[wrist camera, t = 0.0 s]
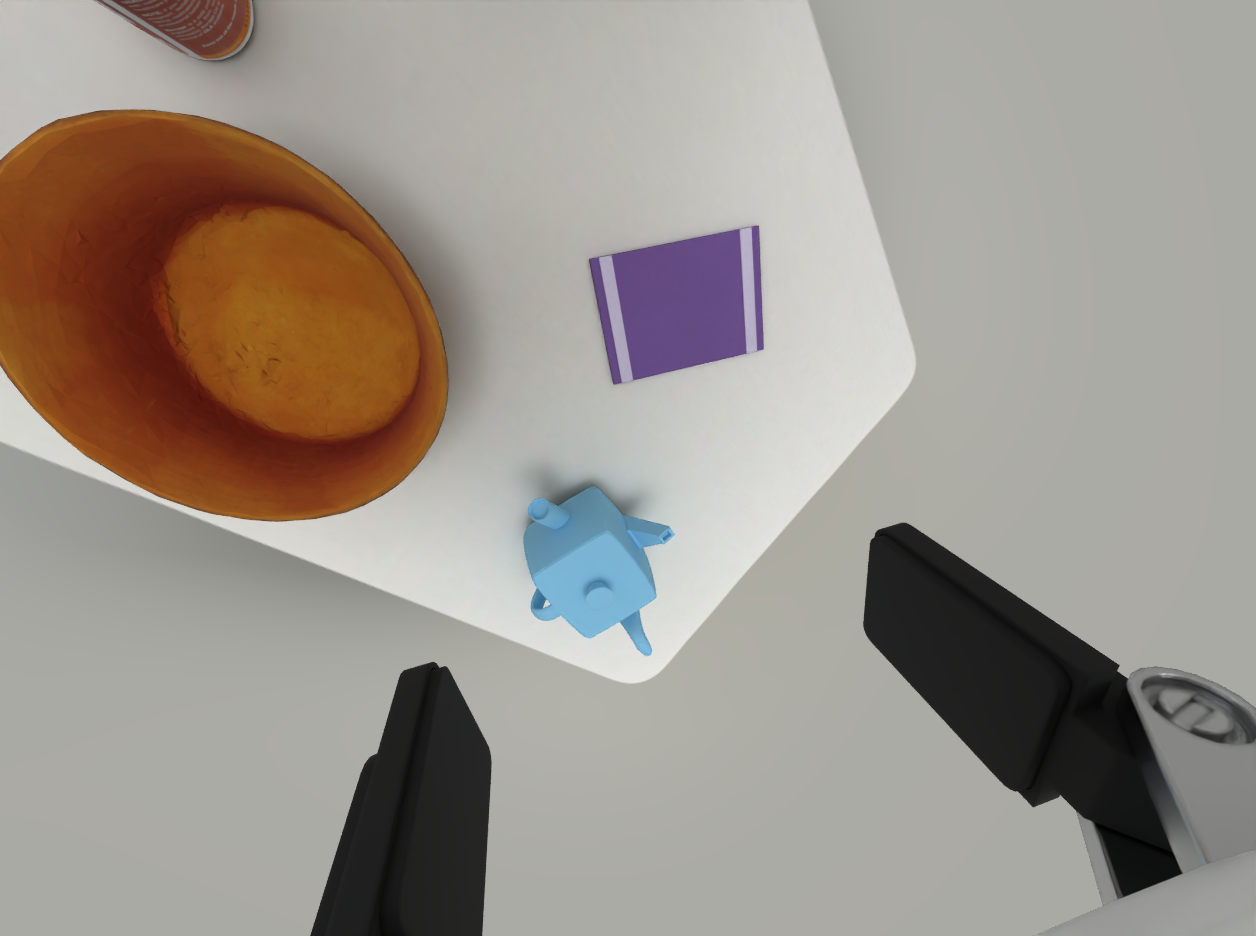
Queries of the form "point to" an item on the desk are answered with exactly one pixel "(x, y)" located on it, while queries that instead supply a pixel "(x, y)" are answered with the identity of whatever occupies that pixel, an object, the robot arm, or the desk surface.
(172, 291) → the bowl
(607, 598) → the teapot
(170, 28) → the pill bottle
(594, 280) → the towel
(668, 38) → the desk surface
